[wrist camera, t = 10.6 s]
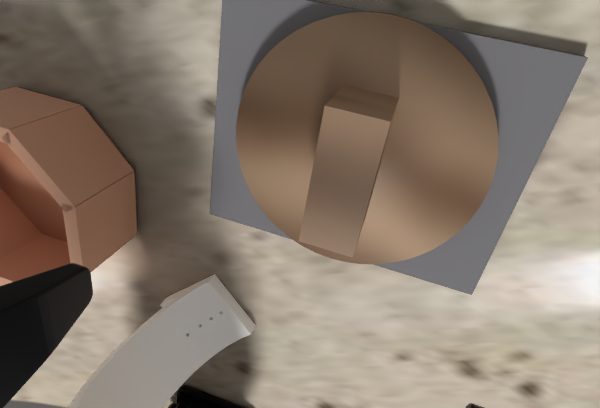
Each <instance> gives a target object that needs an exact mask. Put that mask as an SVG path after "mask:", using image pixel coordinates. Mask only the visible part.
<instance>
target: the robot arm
mask: <svg viewBox="0 0 600 408" xmlns="http://www.w3.org/2000/svg"><path fill="white" fill-rule="evenodd" d="M92 295H93V290H92V281H91V273H90V270H89V269H88V268H87V267H84V266H82V265H79V264H76V263H70V264H67V265H64V266H61V267H57V268H54V269H51V270H48V271H45V272H42V273H39V274H36V275H33V276H30V277H27V278H24V279H21V280H17V281H14V282H11V283H8V284H5V285H2V286H0V408H3V407H4V406H5V405H6V404H7V403H8V402H9V401H10V400H11V399H12V397H13V396H14V395H15V394H16V393H17V392H18V391H19V390H20V389H21V387H22V386H23V385H24V384H25V383H26V382H27V381H28V380H29V379H30V377H31V376H32V375H33V374H34V373H35V372H36V371H37V370H38V369H39V367H40V366H41V365H42V364H43V363H44V362H45V361H46V359H47V358H48V357H49V356H50V355H51V353H52V352H53V351H54V350H55V348H56V347H57V346H58V344H59V343H60V342H61V340H62V339H63V338H64V336H65V335H66V334H67V332H68V331H69V330H70V328H71V327H72V326H73V324H74V323H75V322H76V320H77V319H78V317H79V316H80V315H81V313H82V312H83V311H84V309H85V308H86V307H87V305H88V304H89V302H90V301H91V298H92ZM168 408H241V407H238V406H235V405H233V404H230V403H228V402H225V401H223V400H220V399H217V398H215V397H212V396H210V395H207V394H205V393H202V392H200V391H197V390H194V389H192V388H189V387H187V386H181V387H180V388H179V390H178V392H177V404H175V403H173V404H171V405H170V406H169V407H168ZM466 408H484V407H481V406H478V405H475V404H472V403H470V404H468V405H467V406H466Z"/></svg>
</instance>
